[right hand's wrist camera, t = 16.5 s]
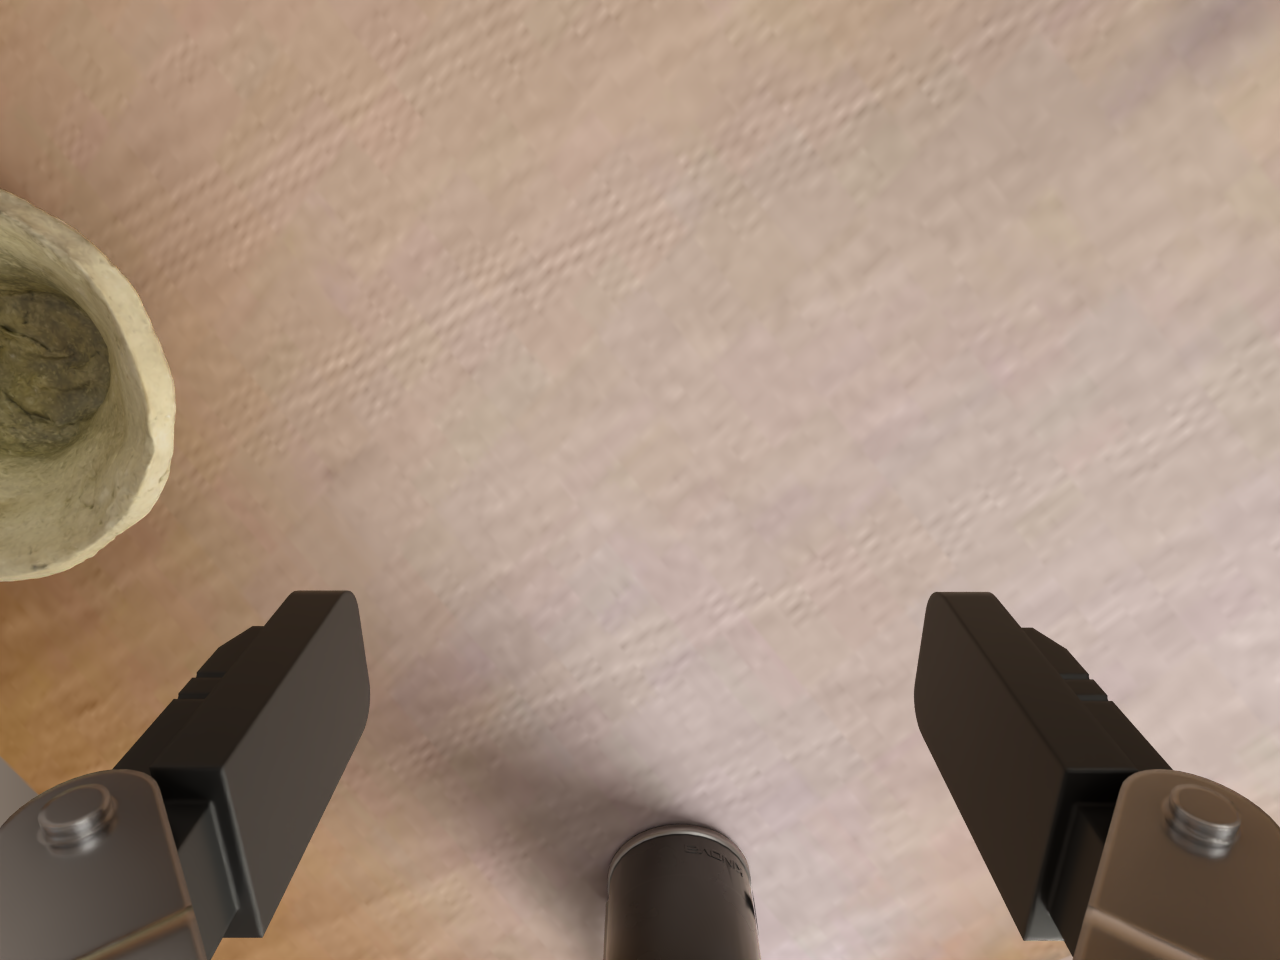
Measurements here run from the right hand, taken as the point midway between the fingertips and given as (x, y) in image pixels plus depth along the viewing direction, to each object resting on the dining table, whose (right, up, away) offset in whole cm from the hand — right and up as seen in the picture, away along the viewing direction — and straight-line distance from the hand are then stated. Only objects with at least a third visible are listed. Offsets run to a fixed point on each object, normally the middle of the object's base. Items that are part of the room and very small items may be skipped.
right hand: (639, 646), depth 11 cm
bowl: (-29, +9, +29) cm, 42 cm away
